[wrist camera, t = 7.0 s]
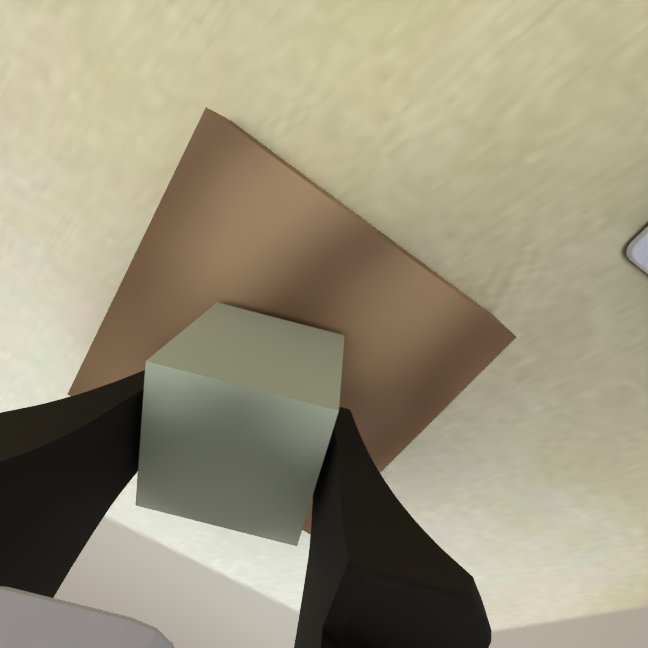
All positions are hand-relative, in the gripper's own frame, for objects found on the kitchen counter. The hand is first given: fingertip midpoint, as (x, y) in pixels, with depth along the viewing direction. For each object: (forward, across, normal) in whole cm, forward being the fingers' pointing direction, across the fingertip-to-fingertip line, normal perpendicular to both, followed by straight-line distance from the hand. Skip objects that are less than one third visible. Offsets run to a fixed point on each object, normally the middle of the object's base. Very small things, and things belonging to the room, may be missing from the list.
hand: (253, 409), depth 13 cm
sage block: (+2, 0, 0) cm, 2 cm away
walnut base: (+6, 0, 0) cm, 6 cm away
